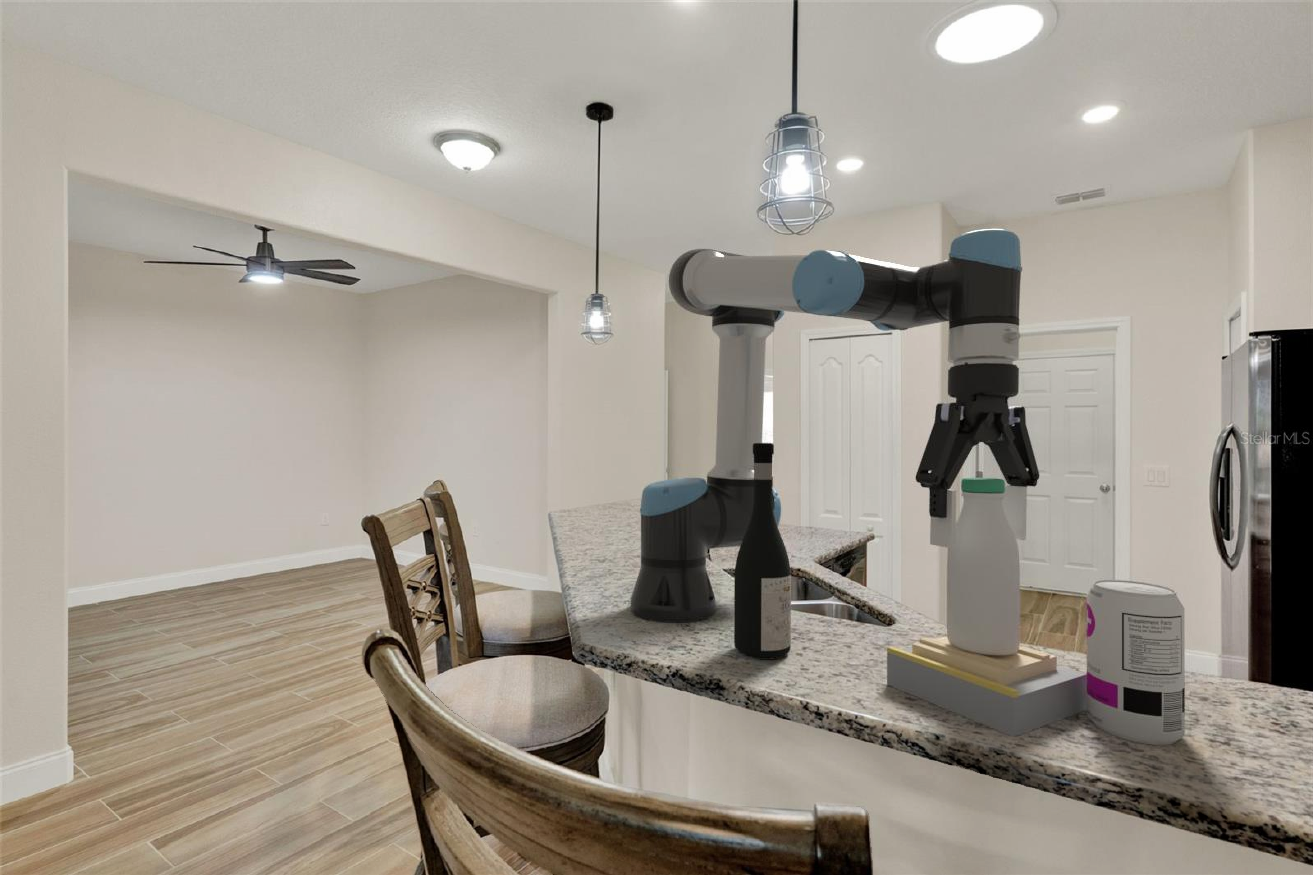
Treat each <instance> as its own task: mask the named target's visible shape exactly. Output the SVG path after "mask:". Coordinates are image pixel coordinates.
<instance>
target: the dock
mask: <svg viewBox="0 0 1313 875" xmlns="http://www.w3.org/2000/svg"><path fill="white" fill-rule="evenodd" d="M886 652H887V653H886V685H888V686H890V687H893V688H895V689H898V690H900V691H902V692H905V693H907V694H909V695H912V696H914V697H917V698H919V699H921V700H923V701H926V702H929V703H930V704H933V705H936V706H938V707H941V708H943V709H946V710H947V711H950V712H953V713H955V714H957V715H959V716H962V717H965V718H967V719H969V720H971V719H972V720H971V721H974V720H975V721H974V722H976V721H977V723H978V724H981V723H982V725H983V724H984V726H986V727H989V728H991V729H993V730H996V731H998V732H1000V733H1003V734H1006V735H1008V736H1009V737H1013V738H1014V737H1017V736H1020V735H1023V734H1026V733H1028V732H1030V731H1034V730H1037V729H1039V728H1043V727H1045V726H1047V725H1050V724H1053V723H1055V722H1058V721H1061V720H1063V719H1066V718H1068V717H1071V716H1074V715H1077V714H1080V713H1082V712H1084V711H1087V673H1085V672H1083V671H1082V672H1081V671H1078V670H1074V669H1071V668H1067V667H1064V666H1061V665H1058V658H1057V655H1053V654H1049V653H1046V652H1042V651H1040V650H1035V649H1032V648H1029V647H1025V646H1023V645H1020V647H1019V649H1018V651H1017V652H1016V653H1014V654H1011V655H986V654H979V653H974V652H969V651H965V650H962V649H959V648H957V647H955V646H953V645H951V644H950V643H949V641H948V639H947V635H946V636H942V637H937V638H933V639H932V638H929V637H922V638H919V641H918V642H915V643H912V644H911V646H909V647H904V648H897V647H894V646H892V645H891V646H887V647H886Z"/></svg>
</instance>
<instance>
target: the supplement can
mask: <svg viewBox="0 0 1313 875" xmlns="http://www.w3.org/2000/svg"><path fill="white" fill-rule="evenodd" d="M1185 650H1186V649H1185V607H1184V605H1183V603H1182V602H1181V601H1180V599H1179V597H1178V596H1177V591H1176V590H1175V589H1173V588H1170V587H1168V586H1164V585H1159V584H1154V583H1149V582H1143V581H1135V580H1125V579H1124V580H1122V579H1099V580H1094V581H1093V585H1092V586H1091V587H1090V589H1089V591H1088V592H1087V594H1086V674H1087V710H1086V715H1087V717H1088V718H1089V719H1090V720H1091V721H1092V722H1093V724H1094V725H1095V726H1096V727H1097V728H1098V729H1100V730H1102V731H1103V732H1105V733H1107V734H1110V735H1113V736H1115V737H1117V738H1120V739H1124V740H1127V741H1131V742H1135V743H1139V744H1146V745H1152V746H1153V745H1154V746H1155V745H1156V746H1158V745H1159V746H1168V745H1171V744H1175V743H1176V742H1177V741H1179V740H1181V739H1182V738H1183V737H1185V734H1186V732H1185V731H1186V730H1185V728H1186V724H1185V722H1186V720H1185V719H1186V715H1185V714H1186V713H1185V712H1186V711H1185V710H1186V708H1185V707H1186V705H1185V704H1186V701H1185V700H1186V699H1185V698H1186V696H1185V695H1186V694H1185V692H1186V691H1185V687H1186V686H1185V684H1186V683H1185V682H1186V681H1185V679H1186V678H1185V670H1186V669H1185V665H1186V664H1185V654H1186V653H1185Z"/></svg>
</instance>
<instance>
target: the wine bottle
mask: <svg viewBox="0 0 1313 875" xmlns="http://www.w3.org/2000/svg"><path fill="white" fill-rule="evenodd" d="M774 452H775V444H774V443H772V442H762V443H754V444H753V454H754V456H753V457H754V504H753V511H752V516H751V519H750V523H749V525H748V528H747V531H746V533H745V536H744V538H743V541H742V543H741V546H739V549H738V552H737V555H736V556H737V557H736V561H735V568H734V586H733V587H734V595H733V596H734V597H733V598H734V600H733V602H734V605H733V606H734V608H733V609H734V610H733V611H734V614H733V616H734V618H733V620H734V621H733V622H734V624H733V630H734V631H733V632H734V633H733V634H734V635H733V637H734V638H733V639H734V641H733V643H734V647H735V649H736V650H737V651H738V653H739V654H741V655H743V656H746V657H749V658H752V659H758V660H772V659H773V660H775V659H779V658H782V657H784V656H786V655H787V654H788V653H789V652H791V644H792V643H791V642H792V640H791V639H792V635H791V633H792V626H791V624H792V620H791V619H792V617H791V615H792V572H791V571H792V570H791V566H790V565H791V564H790V560H789V556H788V552H787V548H786V545H785V543H784V539H783V538H782V535H781V532H780V530H779V526H778V527H777V524H776V520H775V517H774V512H773V505H772V487H773V469H774V466H773V461H774V460H773V458H774V455H775V453H774Z"/></svg>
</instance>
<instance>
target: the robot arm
mask: <svg viewBox="0 0 1313 875" xmlns="http://www.w3.org/2000/svg"><path fill="white" fill-rule="evenodd" d="M1021 259H1022V258H1021V242H1020V238H1019V236H1018V235H1017V234H1016V233H1015V232H1013V231H1009V230H1007V229H1002V228H990V229H989V228H987V229H977V230H972V231H969V232H964V233H963V234H961V235H959V236H958V237H956V238H954V239H953V240H952V241H951V244H950V249H949V253H948V258H947V259H945V260H942V261H940V262H937V263H932V264H928V265H925V266H920V267H910V266H905V265H902V264H896V263H891V262H886V261H881V260H875V259H870V258H866V257H862V256H858V255H853V254H850V253H847V252H846V251H840V250H826V249H825V250H824V249H818V250H813V251H811V252H810V253H809V254H807V255H806V254H805V255H798V254H797V255H743V254H738V253H732V252H725V251H721V250H720V251H719V250H715V249H711V248H695V249H691V250H688V251H686V252H684V253H682V254H681V255H680V256H678V258H677V259H676V260H675V261H674V262H673V264H672V265H671V268H670V271H669V275H668V286H669V291H670V294H671V296H672V298H673V299H674V300H675V302H676V303H677V305H679V306H680V307H681V308H683V309H684V310H685V311H688V312H689V313H692V314H696V315H700V316H705V317H711V318H712V319H711V329H712V331H713V333H714V334H715V335H717V337H718V339H719V348H718V349H719V350H718V352H719V353H718V354H719V355H718V377H717V379H718V380H717V381H718V383H717V408H716V409H717V412H716V437H715V439H716V440H715V443H716V444H715V464H714V466H713V468H711V469H710V471H708V472H707V474H706V479H704V478H701V477H683V478H682V477H681V478H671V479H665V480H659V481H656V482H652V483H649V484H648V485H646V486H645V487H644V489H643V490H642V493H641V501H640V502H641V503H640V509H639V512H640V567H639V572H638V575H637V577H636V581H635V584H634V586H633V590H632V593H631V596H630V612H631V614H632V615H634V616H636V617H639V618H642V619H644V620H650V621H656V622H663V623H664V622H667V623H685V622H693V621H702V620H705V619H708V618H711V617H713V616H714V615H715V614H716V605H717V604H716V600H717V599H716V597H715V593H714V590H713V587H712V584H711V580H710V577H709V574H708V570H707V549H708V550H709V549H710V550H712V549H721V548H722V549H723V548H734V547H740V546H741V543H742V541H743V538H744V536H745V533H746V531H747V528H748V525H749V523H750V519H751V516H752V511H753V504H754V457H753V456H754V454H753V444H754V443H763V428H764V427H763V425H764V424H763V422H764V400H765V396H764V395H765V373H766V372H765V370H766V346H767V345H766V342H767V341H766V340H767V338H768V337H769V336H771V335H772V333H773V332H774V331H775V327H776V326H775V324H776V323H777V322H778V321H779V320H781V319H782V318H783V316H784V315H785V312H790V313H799V314H800V313H801V314H810V315H817V316H826V317H836V318H844V319H852V320H861V321H866V322H869V323H871V324H872V325H873V326H874V327H875V328H876V329H878V330H880V331H884V332H885V331H886V332H887V331H889V332H890V331H895V330H898V331H905V330H906V331H907V330H908V329H912V328H919V327H921V326H922V327H923V326H927V325H929V326H930V325H935V324H938V323H944V322H948V339H947V340H948V341H947V342H948V343H947V344H948V345H947V361H948V362H949V363H950V364H953V366H950V368H949V369H947V395H948V396H949V397H950V398H953V399H955V401H954V402H938V403H937V404H936V406H935V414H934V422H933V426H932V428H931V432H930V434H929V437H928V439H927V442H926V446H925V448H924V450H923V454H922V456H921V457H922V458H921V459H920V460H921V461H920V462H919V465H918V469H917V471H916V474H915V480H916V482H917V483H919V484H920V486H921V488H925V489H926V488H927V489H928V490H929V493H928V494H929V495H928V496H929V502H928V503H929V504H928V506H929V507H928V514H929V516H930V531H929V533H930V534H929V536H930V537H929V538H930V539H929V544H930V545H932V546H937V547H943V548H947V549H948V548H955V538H956V522H957V489H951V488H952V486H953V484H954V482H955V480H956V478H957V477H958V475H959V473H960V471H961V470H962V467H963V466H964V464H965V462H966V460H967V459H968V457H969V455H970V454H971V451H972V449H973V448H974V446H977V445H979V444H980V443H983V444H984V445H986V446H988V448H989V450H990V451H991V454H992V456H993V457H994V460H995V462H996V463H997V466H998V468H999V469H1000V472H1001V473H1002V475H1003V477H1004V481H1006V483H1007V484H1005V491H1004V492H1003V493H1004V496H1005V497H1004V498H1003V499H1002V505H1003V509H1004V513H1005V516H1006V518H1007V521H1008V523H1009V525H1010V527H1011V529H1012V531H1013V533H1014V535H1015V538H1016V540H1020V541H1025V540H1027V506H1028V499H1027V496H1028V492H1027V490H1028V487H1036V486H1037V485H1038V480H1039V479H1040V470H1039V468H1038V464H1037V460H1036V457H1035V452H1034V450H1033V445H1032V441H1031V438H1030V434H1029V431H1028V427H1027V420H1026V417H1027V416H1026V408H1025V406H1023V405H1022V406H1021V405H1020V406H1018V405H1016V406H1009V403H1008V400H1009V399H1010V398H1013V397H1016V396H1017V395H1018V394H1019V388H1020V387H1019V385H1020V375H1019V374H1020V368H1019V367H1018V366H1017V365H1016V364H1013V363H1014V362H1016V361H1017V360H1018V359H1020V358H1019V356H1020V354H1019V353H1020V351H1019V350H1020V349H1019V348H1020V344H1019V343H1020V339H1021V333H1020V301H1021V300H1020V299H1021V296H1020V295H1021V279H1022V272H1023V266H1022V261H1021ZM778 494H779V493H778V492H777V490H776V489H775V487H773V486H772V505H773V512H774V517H775V520H776V524H777V527H778V528H779V524H780V522H781V516H782V504H781V499H780V498H779V497H778Z"/></svg>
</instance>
